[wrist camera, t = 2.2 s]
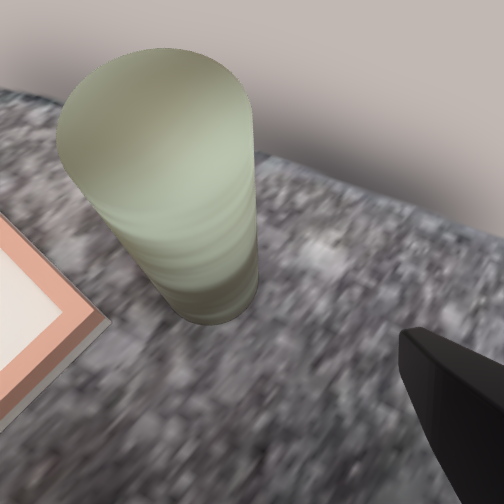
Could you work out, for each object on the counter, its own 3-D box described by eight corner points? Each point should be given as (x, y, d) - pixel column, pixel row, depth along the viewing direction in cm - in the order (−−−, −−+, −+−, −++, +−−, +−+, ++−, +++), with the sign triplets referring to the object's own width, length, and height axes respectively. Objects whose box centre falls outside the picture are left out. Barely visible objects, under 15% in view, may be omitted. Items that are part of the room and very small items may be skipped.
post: (278, 273, 23) (293, 113, 11) (212, 345, 21) (149, 250, 10) (209, 217, 24) (157, 21, 12) (143, 282, 23) (16, 130, 11)
